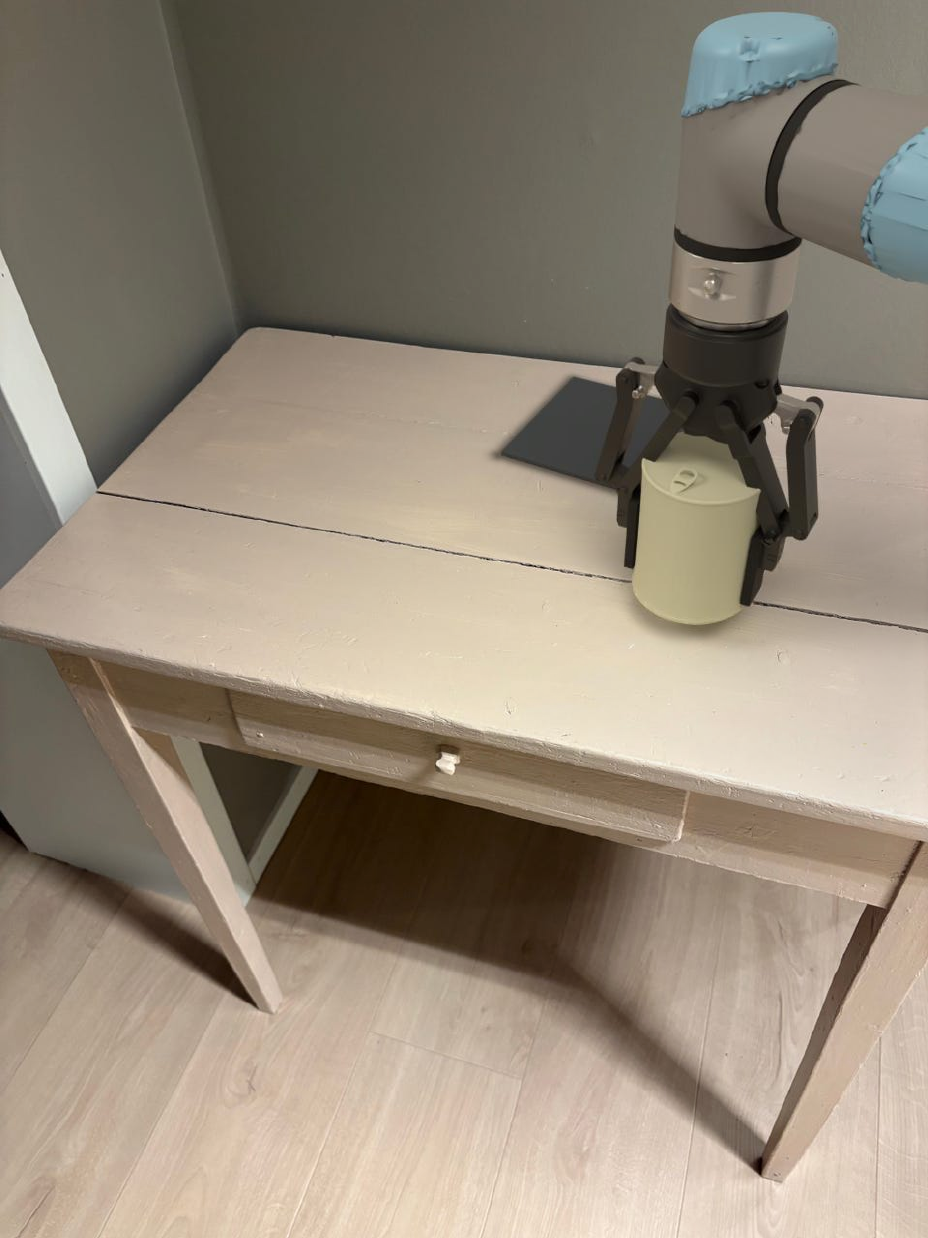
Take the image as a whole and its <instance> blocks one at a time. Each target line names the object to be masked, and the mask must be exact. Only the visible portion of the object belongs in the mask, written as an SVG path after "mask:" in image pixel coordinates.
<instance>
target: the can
mask: <svg viewBox="0 0 928 1238" xmlns="http://www.w3.org/2000/svg"><path fill="white" fill-rule="evenodd" d="M760 492H761V490H760V489H755V488H750V487H747V486H746V483H745V480H744V477H743V474H742V472H741V469H740V466H739V463H738V461H737V460H734V459H733V457H732V455H731V452H730V449H729V447H728V444H723V443H719V442H716V441H714V440H712V439H710V438H708V437H706V436H692V435H688V434H684V432H680V433H677V434H676V435H675V437H674V438H673V439H672V441H671V442H670V443H669V445H668V446H667V447H666V449H665V450H664V451H663V452H662V454H661V455H660V456H659V458H658V459H657V460H656V461H655V462H652V461H649V460H647V459H645V458H643V459H642V483H641V499H640V513H639V527H638V540H637V551H636V561H635V567H634V569H633V572H632V576H631V586H632V590H633V594H634V595H635V597H636V599H637V601H639V603H640V604H641V605H642V606H643V607H644V608H645V609H647V610H648V611H649V612H651V613H652V614H654V615H656V616H658V617H660V618H661V619H665V620H666V621H670V622H674V623H678V624H683V625H684V624H685V625H693V626H694V625H696V626H697V625H699V626H700V625H709V624H710V625H711V624H716V623H719V622H722V621H724V620H727V619H729V618H731V617H733V616H735V615H736V614H738V613H739V612H741V610H742V609H743V608H744V607H745V606H744V605H741V604H740V600H741V595H742V589H743V584H744V578H745V573H746V567H747V562H748V557H749V551H750V546H751V540H752V536H753V535H754V533H755V532H756V530H757V529H758V527H759V525H760V522H759V519H758V516H757V513H756V507H757V502H758V498H759V494H760Z"/></svg>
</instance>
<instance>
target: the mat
mask: <svg viewBox="0 0 928 1238" xmlns="http://www.w3.org/2000/svg"><path fill="white" fill-rule="evenodd" d="M616 403H617V393H616V386H613V385H609V384H604V383H602V382H601V383H600V382H597V381H593V380H589V379H584V378H581V377H577V376H573V377H572V378H571V379H570V380H569V381H568V382H567V383H565V385H564V386H563V387H562V388H561V389H560V390H559V391H558V392H557V394H555V395H554V397H552V398H551V399H550V400H549V401H548V402H547V404H545V405H544V407H543V408H541V409H540V411H539V412H537V414H536V415H535V416H534V417H532V419H531V420H530V421H529V422H528V423H527V424H526V425H525V426H524V427H523V428H522V429H521V430H520V431H519V432H518V434H516V436H515V437H513V438H512V439H511V440H510V441H509V442H508V444H507V445H506V446H504V448H502V450H501V451H500V455H501V456H504V457H507V458H510V459H514V460H517V461H521V462H524V463H528V464H531V465H533V466H537V467H541V468H543V469H548V470H550V471H554V472H557V473H560V474H564V475H568V476H571V477H575V478H577V479H581V480H584V481H588V482H591V483H594V484H598V485H601V486H603V487H608V488H612V489H614V490H616V489H615V488H614V487H612V486H611V485H609V484H608V483H607V484H603V485H602V484H600V483H598V482H597V481H596V480H595V472H596V469H597V465H598V462H599V459H600V456H601V452H602V449H603V446H604V442H605V439H606V436H607V433H608V429H609V426H610V423H611V420H612V416H613V413H614V410H615V407H616ZM669 414H670V411H669V410H668V408H667V406H666V404H665V403H664V401H663V399H662V398H661V397H656V396H652V395H648V394H647V395H646V396H645V397H644V400H643V403H642V406H641V409H640V412H639V415H638V418H637V421H636V424H635V427H634V430H633V433H632V436H631V439H630V442H629V445H628V448H627V451H626V454H625V457H624V460H623V463H622V464H623V465H625V466H627V467H628V468H630V467H631V466H632V465H633V463H634V462H635V460H636V459H637V458H638V456H639V455H640V454H641V452H642V451H643V450H644V448H645V447H646V445H647V444H648V443H649V441H650V440H651V439H652V437H653V436H654V434H655V433H656V431H657V430H658V429H659V427H660V426H661V425H662V423H663V422H664V420H665V419H666V418H667V416H668V415H669ZM684 431H685V430H683V429H682V428H681V429H680V430H679V431H678V433H680V432H684ZM641 483H642V480H641V482H640V486H641Z"/></svg>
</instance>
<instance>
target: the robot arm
mask: <svg viewBox="0 0 928 1238" xmlns="http://www.w3.org/2000/svg"><path fill="white" fill-rule="evenodd" d="M838 48H839V33H838V30H837V29H836V27H835V26H834V25H832V23H830V22H828V21H824V20H823V19H822V18H821V17H819V16H817V15H816V16H815V15H811V14H805V13H801V12H800V13H799V12H790V11H789V12H788V11H786V12H784V11H765V12H764V11H761V12H750V13H743V14H738V15H733V16H730V17H726V18H721V19H718V20H716V21H715V22H713V23H711V24H709V25H708V26H706V27H705V28H704V29H703V30H702V31H701V32H700V33H699V34H698V36H697V38H696V39H695V41H694V44H693V47H692V50H691V51H692V52H691V58H690V63H689V71H688V76H687V83H686V89H685V95H684V103H683V107H682V108H681V111H680V117H681V118H682V120H681V121H682V122H681V139H680V157H679V167H678V168H679V169H678V170H679V171H678V183H677V193H676V205H675V209H676V210H675V217H674V218H675V220H674V221H675V222H674V226H673V233H672V234H673V235H672V246H671V247H672V248H671V256H670V257H671V260H670V271H669V281H668V291H667V297H668V300H669V302H670V303H669V305H668V306H667V308H666V312H665V323H664V334H663V344H662V361H661V364H660V366H659V365H651V364H646V362H645V361H644V359H642V358H641V357H639V356H634V357H632V358H631V359H630V360H628V362H627V363H626V364H625V365H624V367H622V369H620V371H619V372H618V373H617V374H616V376H615V387H616V393H617V403H616V407H615V410H614V413H613V416H612V420H611V423H610V426H609V429H608V433H607V436H606V439H605V442H604V446H603V449H602V452H601V456H600V459H599V462H598V465H597V469H596V472H595V480H596V481H597V482H598V483H600V484H599V485H601V484H602V485H601V486H604V485H603V484H607V483H608V484H609V485H611V486H612V487H614V488H615V489H614V488H613V489H614V490H615V492H616V494H617V501H616V502H617V503H616V520H615V521H616V523H617V526H618V527H622V528H625V529H626V532H625V533H626V534H625V547H624V561H623V567H624V568H627V569H630V570H634V569H635V561H636V551H637V540H638V527H639V513H640V499H641V486H640V482H641V480H642V459H643V458H645V459H647V460H649V461H652V462H655V461H656V460H657V459H658V458H659V456H660V455H661V454H662V452H663V451H664V450H665V449H666V447H667V446H668V445H669V443H670V442H671V441H672V439H673V438H674V437H675V435H676V434H677V433H678V431H679V430H680V429H681V428H682V429H683V430H685V431H684V434H688V435H692V436H706V437H708V438H710V439H712V440H714V441H716V442H719V443H723V444H728V447H729V449H730V452H731V455H732V457H733V459H734V460H737V461H738V463H739V466H740V469H741V472H742V474H743V477H744V480H745V483H746V486H747V487H750V488H755V489H760V490H761V492H760V494H759V498H758V502H757V507H756V513H757V516H758V519H759V522H760V525H759V527H758V529H757V530H756V532H755V533H754V535H753V536H752V540H751V546H750V551H749V557H748V562H747V567H746V573H745V578H744V584H743V589H742V595H741V600H740V604H741V605H744V607H747V608H751V605H752V603H753V602H754V600H755V598H756V597H757V594H758V593H759V591H760V589H761V587H762V584H763V579H764V574H765V571H767V572H770V573H773V572H774V570H775V569H776V568H777V566H778V564H779V563H780V561H781V559H782V557H783V553H784V548H785V543H786V538H791V537H792V538H793V539H794V540H795V541H800V542H801V541H805V540H807V538H808V537H809V535H810V534H811V531H812V530H813V528H814V526H815V524H816V523H817V521H818V519H819V494H818V493H819V492H818V470H817V468H818V467H817V444H816V439H817V438H816V428H817V424H818V422H819V421H820V416H821V415H822V412H823V409H824V406H825V404H824V401H823V399H822V398H820V397H818V396H815V395H813V396H809V397H807V398H806V400H802V399H799V398H796V397H793V396H791V395H788V394H785V393H783V389H782V386H781V383H780V380H779V372H780V368H781V367H780V366H781V363H782V362H781V361H782V356H783V350H784V345H785V340H786V333H787V329H788V322H789V313H788V310H787V309H788V308H789V307H790V306H791V304H792V302H793V297H794V291H795V285H796V280H797V279H796V278H797V273H798V267H799V261H800V256H801V249H802V245H803V244H802V243H803V240H805V241H807V242H809V243H813V244H815V245H817V246H819V247H822V248H825V249H827V250H830V251H832V252H835V253H837V254H839V255H842V256H844V257H847V258H849V259H852V260H854V261H857V262H859V263H862V264H864V265H867V266H869V267H871V268H874V269H877V270H879V272H880V273H882V274H885V275H887V276H888V277H890V278H893V279H900V280H902V281H905V282H909V283H912V282H913V283H919V284H923V285H926V286H928V92H927V93H925V94H924V93H923V94H903V93H900V92H899V93H898V92H894V91H890V90H889V91H888V90H884V89H878V88H874V87H869V86H863V85H861V84H859V83H857V82H852V81H849V80H846V79H845V78H844V79H843V78H840V77H837V76H835V73H836V72H837V71H838V70H837V69H838V66H839V64H840V63H839V62H838V59H837V57H838V55H837V54H838ZM653 386H655V389H656V391H657V393H658V394H659V396H660V398H661V399H663V401H664V403H665V404H666V406H667V408H668V410H669V411H670V414H669V415H668V416H667V418H666V419H665V420H664V422H663V423H662V425H661V426H660V427H659V429H658V430H657V431H656V433H655V434H654V436H653V437H652V439H651V440H650V441H649V443H648V444H647V445H646V447H645V448H644V450H643V451H642V452H641V454H640V455H639V456H638V458H637V459H636V460H635V462H634V463H633V465H632V466H631V467H630V468H628V467H627V466H625V465H623V464H622V463H623V460H624V457H625V454H626V451H627V448H628V445H629V442H630V439H631V436H632V433H633V430H634V427H635V424H636V421H637V418H638V415H639V412H640V409H641V406H642V403H643V400H644V397H645V396H646V395H648V394H649V393H650V392H651V390H652V389H653ZM772 414H776V415H777V416H778V418H779V419H780V428H781V432H782V433H783V434H784V435H787V437H786V438H787V439H786V441H785V442H786V443H785V462H786V463H785V464H786V477H787V481H786V482H787V496H788V497H787V498H788V500H787V498H786V494H785V492H784V489H783V486H782V483H781V481H780V477H779V475H778V471H777V469H776V466H775V462H774V460H773V457H772V454H771V451H770V449H769V445H768V443H767V429H766V426H765V423H764V421H765V420H766V419H767V418H769V417H770V416H771V415H772Z"/></svg>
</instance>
